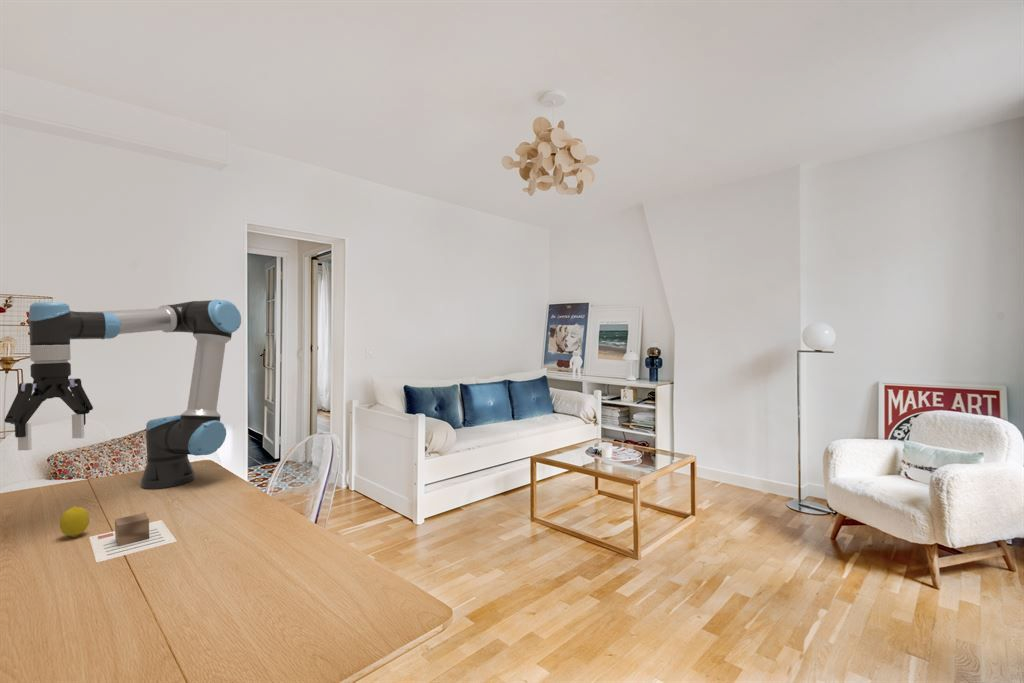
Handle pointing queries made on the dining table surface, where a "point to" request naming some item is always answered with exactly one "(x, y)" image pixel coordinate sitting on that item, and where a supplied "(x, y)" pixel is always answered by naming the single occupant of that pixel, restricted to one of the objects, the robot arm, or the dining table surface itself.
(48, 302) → the robot arm
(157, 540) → the letter
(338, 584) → the dining table surface
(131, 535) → the walnut block
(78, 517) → the lemon
